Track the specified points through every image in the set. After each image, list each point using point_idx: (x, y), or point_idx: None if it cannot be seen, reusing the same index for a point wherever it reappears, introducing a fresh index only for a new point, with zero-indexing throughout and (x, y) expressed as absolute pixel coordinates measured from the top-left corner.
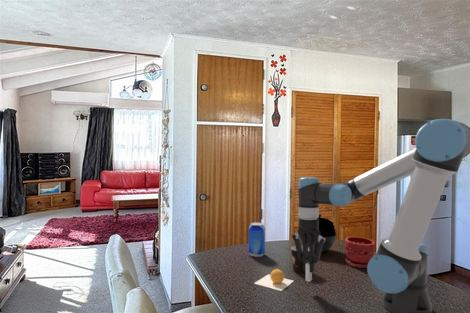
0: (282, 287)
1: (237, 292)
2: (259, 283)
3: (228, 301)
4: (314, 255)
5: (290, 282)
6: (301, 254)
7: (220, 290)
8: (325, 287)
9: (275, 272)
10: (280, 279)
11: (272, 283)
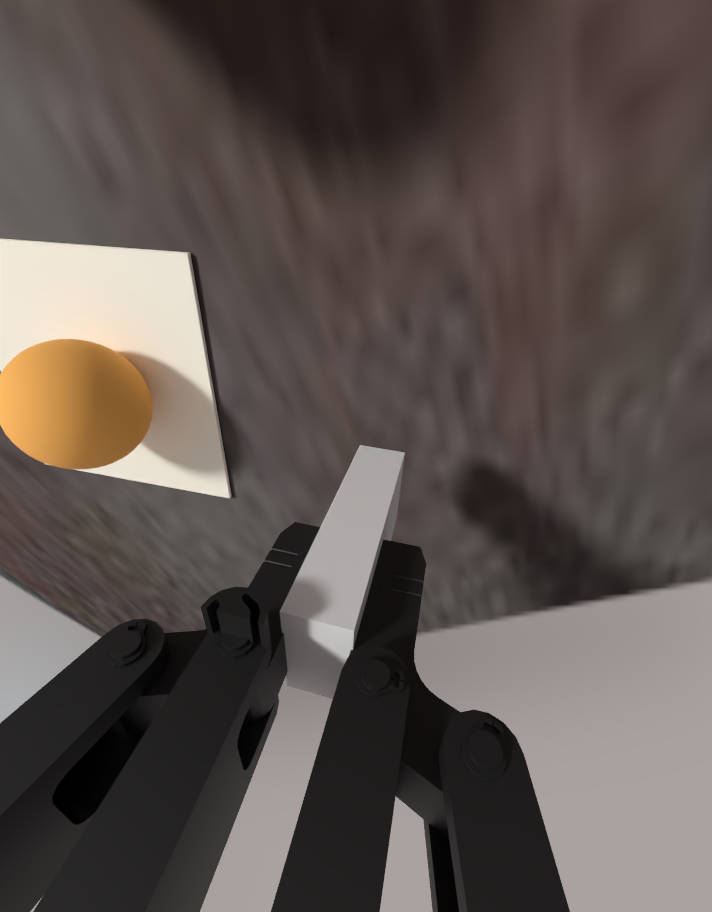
0: (205, 448)
1: (92, 576)
2: None
3: None
4: (383, 873)
5: (188, 318)
6: (74, 730)
7: (36, 580)
8: (545, 219)
9: (55, 465)
10: (139, 442)
11: None
